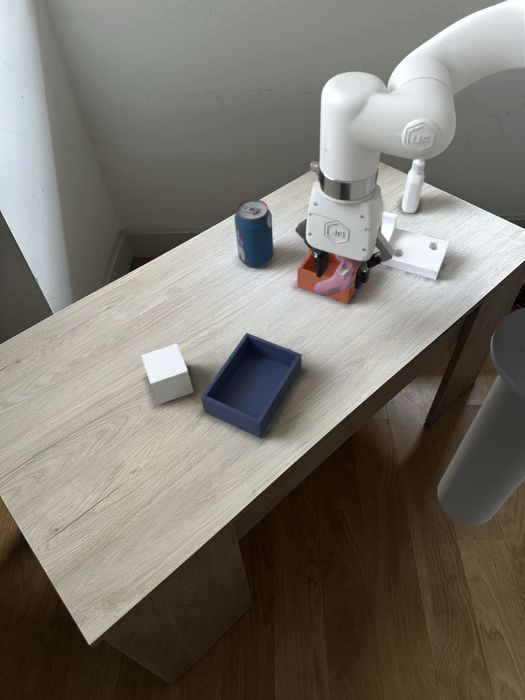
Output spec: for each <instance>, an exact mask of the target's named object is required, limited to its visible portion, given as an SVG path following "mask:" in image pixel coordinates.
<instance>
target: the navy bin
mask: <svg viewBox="0 0 525 700" xmlns="http://www.w3.org/2000/svg"><path fill="white" fill-rule="evenodd" d="M302 356H303V354H302V353H300V352H298V351H294V350H292V349H289V348H287V347H284V346H282V345H279V344H276V343H274V342H272V341H269V340H266V339H264V338H261V337H259V336H256V335H254V334H251V333H248V332H246V333H245V334H244V335H243V336H242V338H241V340H240V341H239V343H238V344H237V345H236V347H235V348H234V349H233V351H232V352H231V354H230V355H229V357H228V358H227V360H225V362H224V364H223V366H221V368H220V369H219V371H218V372H217V373H216V375H215V377H214V378H213V379H212V380H211V382H210V383H209V385H208V386H207V387H206V389H205V390H204V392H203V393H202V395H201V396H200V400H201V404H202V407H203V411H204V414H207V415H208V416H211V417H213V418H215V419H218V420H219V421H222V422H224V423H225V424H228V425H231V426H232V427H235V428H237V429H240V430H241V431H243V432H245V433H248V434H250V435H252V436H254V437H257V438H258V439H262V438H263V436H264V435H265V433H266V431H267V430H268V428H269V426H270V425H271V423H272V421H273V419H274V418H275V416H276V415H277V413H278V411H279V409H280V408H281V406H282V404H283V403H284V401H285V400H286V397H287V396H288V395H289V393H290V391H291V389H292V388H293V386H294V384H295V383H296V381H297V379H298V378H299V377H300V374H301V373H302V365H303V364H302V363H303V361H302V359H303V357H302Z"/></svg>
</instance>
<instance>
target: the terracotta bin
mask: <svg viewBox="0 0 525 700" xmlns="http://www.w3.org/2000/svg"><path fill="white" fill-rule="evenodd" d="M311 253H312V251H311V250H310V251H308V254H307V255H306V257H305V258H304V259H303V261H302V262H301V264H300V265H299V267H298V268H297V283H296V284H297V285H296V286H297V288H300V289H302V290H305V291H308V292H310V293H311V292H312V293H314V294H317V293H316V292H315V290H314V287H315V285H316V284H317V283H318V282H321V281H324V280H327V279H329V278H331V277H332V276H333V275H334V273H335V272H336V270H337V268H338V266H339V265H340V261H338V260H337V259H336V257H335V254H333V253H330V252H329V260H328V268H327V269H326V271H325V272H324V274H323V275H322V277H320V278H318V277H316V268H314V264H315V257H314V256H312V254H311ZM358 267H359V266H358ZM358 267H357V268H356V269H355V270H356V271H357V269H358ZM355 278H356V272H355V275H354V277H353V279H352V283H353V282H354V285H353V286H352V287H351V288H349V287H347V288H345V289H344V291H342V292H339V293H336V294H334V295H329V296H324V295H321V296H323V297H325V298H328V299H330V300H334V301H336V302H340V303H343V304H346V305H348V304H349V302H350V300H351V299H352V297H353V295H354V293H355V292H356V291H357V290H356V289H355ZM317 295H318V294H317Z"/></svg>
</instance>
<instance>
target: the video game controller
mask: <svg viewBox="0 0 525 700" xmlns="http://www.w3.org/2000/svg"><path fill="white" fill-rule="evenodd" d="M335 257H336V259H337V260H338V261H340V265H339V266H338V268H337V270H336V272H335V273H334V275H333V276H332V277H331V278H329V279H327V280H324V281H321V282H318V283H317V284H316V285H315V287H314V290H315V292H316V293H317V295H319V296H322V295H324V296H323V297H325V296H329V295H334V294H336V293H339V292H342V291H344V289H345V288H347V287H349V288H351V287H352V286H353V285H354V282H353V283H352V279H353V277H354V275H355V272H356V270H355V269H356V268H357V267H358V266H359V264H358V261H357V260H354V259H350V258H347V257H343V256H340V255H336V254H335ZM316 293H315V294H316Z"/></svg>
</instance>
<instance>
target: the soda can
mask: <svg viewBox="0 0 525 700" xmlns="http://www.w3.org/2000/svg"><path fill="white" fill-rule="evenodd" d="M234 229H235V236H236V245H237V247H236V248H237V255H238V259H239V260H240V262H242V264H244V265H245V267H248V268H250V269H259V268H263V267H265V266H266V265H268V263H269V262H270V261H271V260H272V258H273V257H274V237H273V236H274V235H273V215H272V212H271V211H270V209H269V206H268V204H267V203H266V202H265V201H263V200H260V199H247V200H244V201H243V202H242V201H241V203H239V204H238V206H237V207H236V212H235V214H234Z"/></svg>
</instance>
